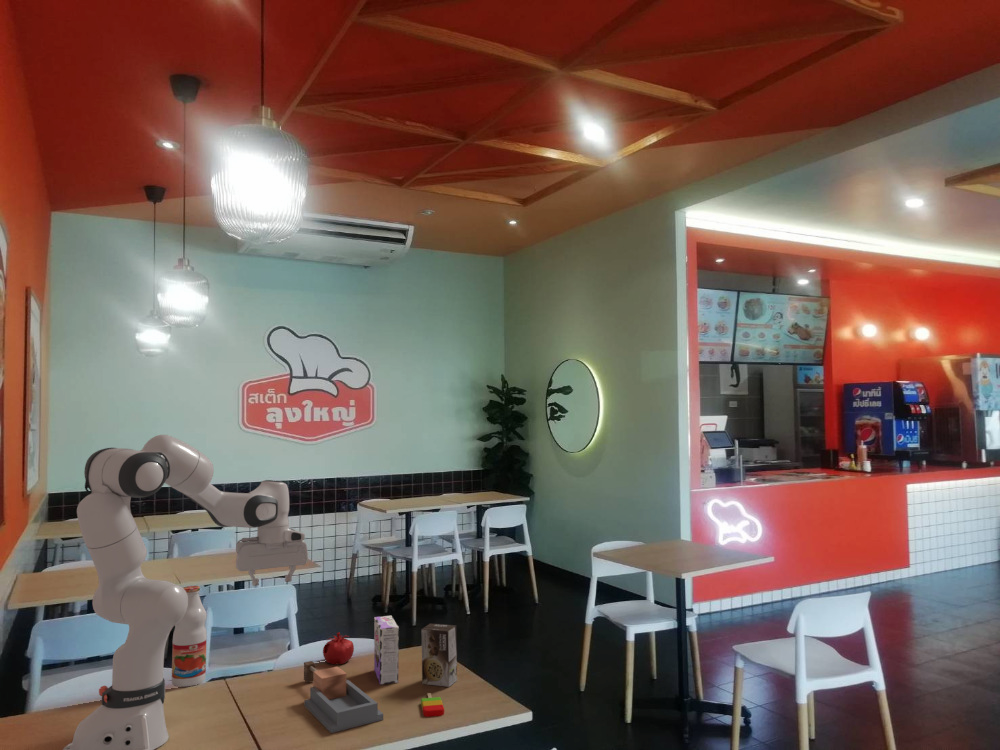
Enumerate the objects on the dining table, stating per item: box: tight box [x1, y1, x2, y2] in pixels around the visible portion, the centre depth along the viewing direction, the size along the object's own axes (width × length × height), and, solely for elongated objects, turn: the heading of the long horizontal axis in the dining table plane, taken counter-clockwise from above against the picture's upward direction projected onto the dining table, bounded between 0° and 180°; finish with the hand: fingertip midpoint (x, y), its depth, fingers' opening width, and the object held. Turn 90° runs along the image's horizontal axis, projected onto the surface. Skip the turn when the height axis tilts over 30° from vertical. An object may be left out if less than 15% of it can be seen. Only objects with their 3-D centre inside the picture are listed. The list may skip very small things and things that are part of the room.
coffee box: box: [420, 623, 458, 688], centre depth 207 cm, size 9×6×16 cm
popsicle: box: [420, 692, 445, 718], centre depth 189 cm, size 6×15×2 cm, turn 11°
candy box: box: [373, 615, 400, 685], centre depth 212 cm, size 14×6×16 cm, turn 17°
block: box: [303, 660, 347, 700], centre depth 199 cm, size 7×23×7 cm, turn 34°
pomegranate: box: [322, 632, 355, 665], centre depth 226 cm, size 10×10×9 cm
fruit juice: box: [171, 585, 208, 688], centre depth 210 cm, size 9×9×28 cm
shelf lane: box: [303, 679, 384, 734], centre depth 184 cm, size 14×21×4 cm, turn 34°
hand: (272, 583), depth 202 cm, fingers open, 8 cm apart
